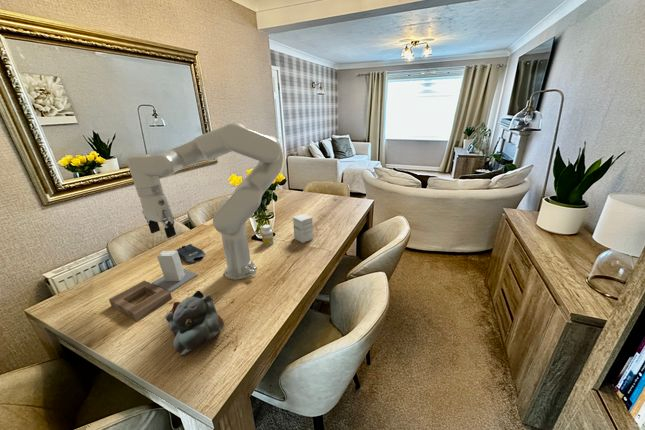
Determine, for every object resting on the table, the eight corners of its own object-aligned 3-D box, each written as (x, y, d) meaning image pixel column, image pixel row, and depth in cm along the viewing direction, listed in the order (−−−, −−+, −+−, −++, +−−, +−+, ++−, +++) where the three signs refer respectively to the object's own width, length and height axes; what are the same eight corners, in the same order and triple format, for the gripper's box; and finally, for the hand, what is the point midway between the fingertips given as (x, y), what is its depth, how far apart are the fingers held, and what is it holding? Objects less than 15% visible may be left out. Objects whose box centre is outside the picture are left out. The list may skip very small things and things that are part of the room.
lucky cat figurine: (167, 363, 68) (147, 315, 68) (186, 341, 80) (169, 301, 80) (221, 338, 70) (201, 292, 70) (231, 321, 82) (215, 282, 82)
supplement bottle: (263, 241, 133) (261, 224, 129) (274, 240, 133) (272, 223, 129) (262, 246, 128) (260, 228, 124) (273, 245, 128) (271, 228, 124)
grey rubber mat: (197, 275, 105) (197, 274, 105) (170, 292, 96) (170, 291, 95) (179, 268, 111) (179, 267, 110) (151, 283, 101) (151, 282, 101)
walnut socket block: (172, 298, 92) (170, 292, 91) (137, 321, 82) (134, 314, 81) (146, 286, 99) (144, 280, 98) (111, 306, 89) (108, 299, 88)
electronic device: (174, 259, 121) (189, 265, 112) (172, 248, 120) (187, 253, 111) (193, 253, 128) (209, 258, 119) (192, 242, 127) (207, 247, 118)
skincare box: (185, 275, 105) (178, 249, 100) (179, 282, 101) (172, 255, 96) (170, 275, 105) (163, 250, 100) (164, 282, 101) (156, 255, 96)
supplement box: (293, 238, 134) (292, 216, 130) (305, 234, 139) (303, 213, 134) (302, 243, 129) (300, 221, 124) (313, 239, 134) (312, 217, 129)
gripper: (175, 190, 88) (187, 233, 95) (146, 185, 96) (159, 226, 102) (153, 196, 82) (168, 242, 89) (124, 191, 90) (140, 234, 96)
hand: (163, 234), depth 95 cm, fingers open, 9 cm apart
